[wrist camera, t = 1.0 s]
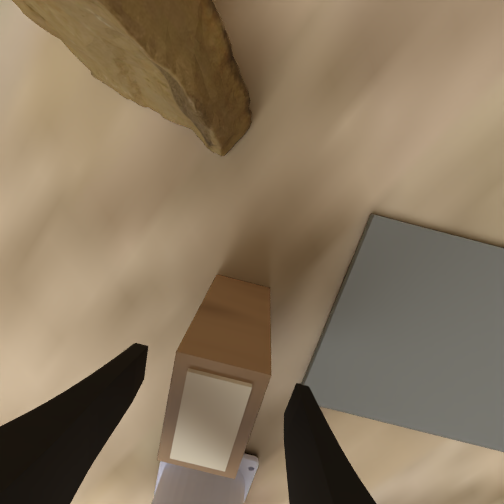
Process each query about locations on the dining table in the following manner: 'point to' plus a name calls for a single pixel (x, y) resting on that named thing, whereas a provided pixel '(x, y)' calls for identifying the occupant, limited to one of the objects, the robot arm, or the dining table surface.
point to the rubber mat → (417, 335)
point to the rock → (157, 58)
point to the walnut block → (219, 379)
